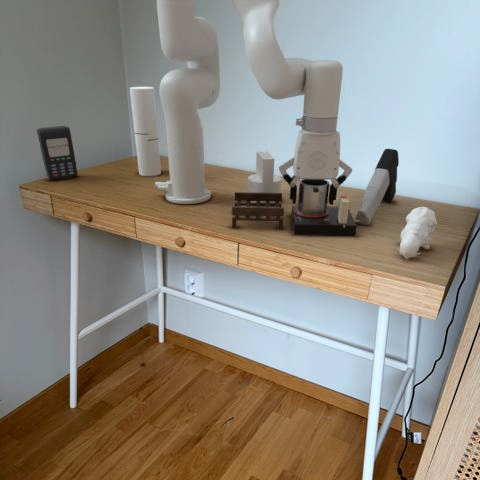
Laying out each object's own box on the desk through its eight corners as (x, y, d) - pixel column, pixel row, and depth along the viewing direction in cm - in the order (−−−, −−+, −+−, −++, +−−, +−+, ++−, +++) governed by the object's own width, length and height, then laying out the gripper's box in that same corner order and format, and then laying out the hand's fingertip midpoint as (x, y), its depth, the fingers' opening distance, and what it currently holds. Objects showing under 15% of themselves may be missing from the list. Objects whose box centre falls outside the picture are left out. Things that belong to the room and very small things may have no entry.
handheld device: (397, 192, 127) (400, 147, 115) (370, 252, 119) (369, 211, 107) (383, 189, 129) (384, 145, 117) (355, 249, 121) (353, 208, 108)
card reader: (49, 182, 141) (38, 129, 133) (45, 179, 144) (34, 127, 136) (79, 177, 145) (70, 127, 137) (75, 174, 148) (66, 124, 140)
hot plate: (295, 217, 108) (295, 216, 108) (293, 206, 115) (293, 205, 115) (331, 218, 108) (331, 217, 108) (326, 206, 115) (327, 205, 115)
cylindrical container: (139, 170, 153) (130, 86, 140) (161, 170, 154) (154, 86, 141) (138, 176, 147) (128, 89, 134) (160, 175, 148) (153, 89, 135)
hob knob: (346, 223, 105) (349, 201, 102) (339, 223, 105) (342, 201, 102) (344, 217, 109) (346, 195, 106) (337, 217, 109) (339, 195, 106)
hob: (294, 236, 105) (295, 225, 104) (291, 215, 117) (291, 205, 116) (361, 238, 105) (363, 227, 103) (351, 216, 117) (352, 206, 115)
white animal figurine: (441, 206, 96) (428, 229, 88) (433, 243, 102) (419, 268, 93) (411, 201, 99) (395, 223, 91) (404, 237, 104) (388, 261, 96)
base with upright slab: (283, 204, 124) (286, 158, 118) (250, 206, 123) (251, 159, 117) (275, 194, 132) (277, 150, 125) (244, 195, 131) (245, 151, 124)
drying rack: (232, 227, 110) (232, 207, 107) (234, 211, 120) (234, 191, 117) (282, 228, 109) (283, 208, 106) (281, 212, 119) (282, 192, 117)
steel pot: (298, 217, 108) (301, 187, 104) (296, 204, 116) (298, 176, 112) (328, 217, 108) (331, 187, 104) (323, 205, 115) (326, 176, 112)
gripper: (280, 127, 98) (276, 207, 108) (362, 128, 98) (351, 208, 107) (279, 121, 105) (275, 197, 114) (356, 122, 104) (346, 198, 113)
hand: (312, 202), depth 111 cm, fingers open, 8 cm apart
